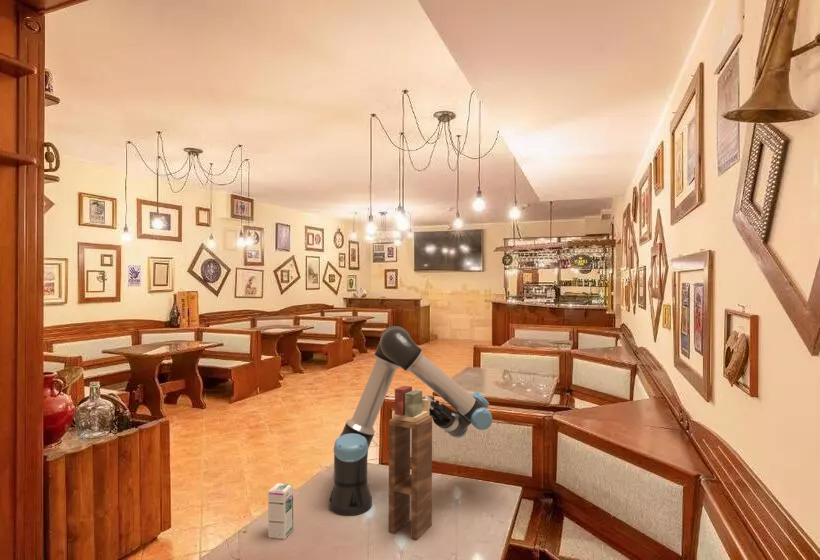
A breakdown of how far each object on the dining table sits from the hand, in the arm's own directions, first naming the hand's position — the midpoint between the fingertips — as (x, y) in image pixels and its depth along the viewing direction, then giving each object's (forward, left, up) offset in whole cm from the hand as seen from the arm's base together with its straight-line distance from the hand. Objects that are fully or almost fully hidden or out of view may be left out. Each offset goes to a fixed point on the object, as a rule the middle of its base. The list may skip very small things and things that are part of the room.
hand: (420, 399), depth 156 cm
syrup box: (-34, -29, -40) cm, 60 cm away
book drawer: (0, -2, -4) cm, 5 cm away
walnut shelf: (0, -7, -40) cm, 40 cm away
